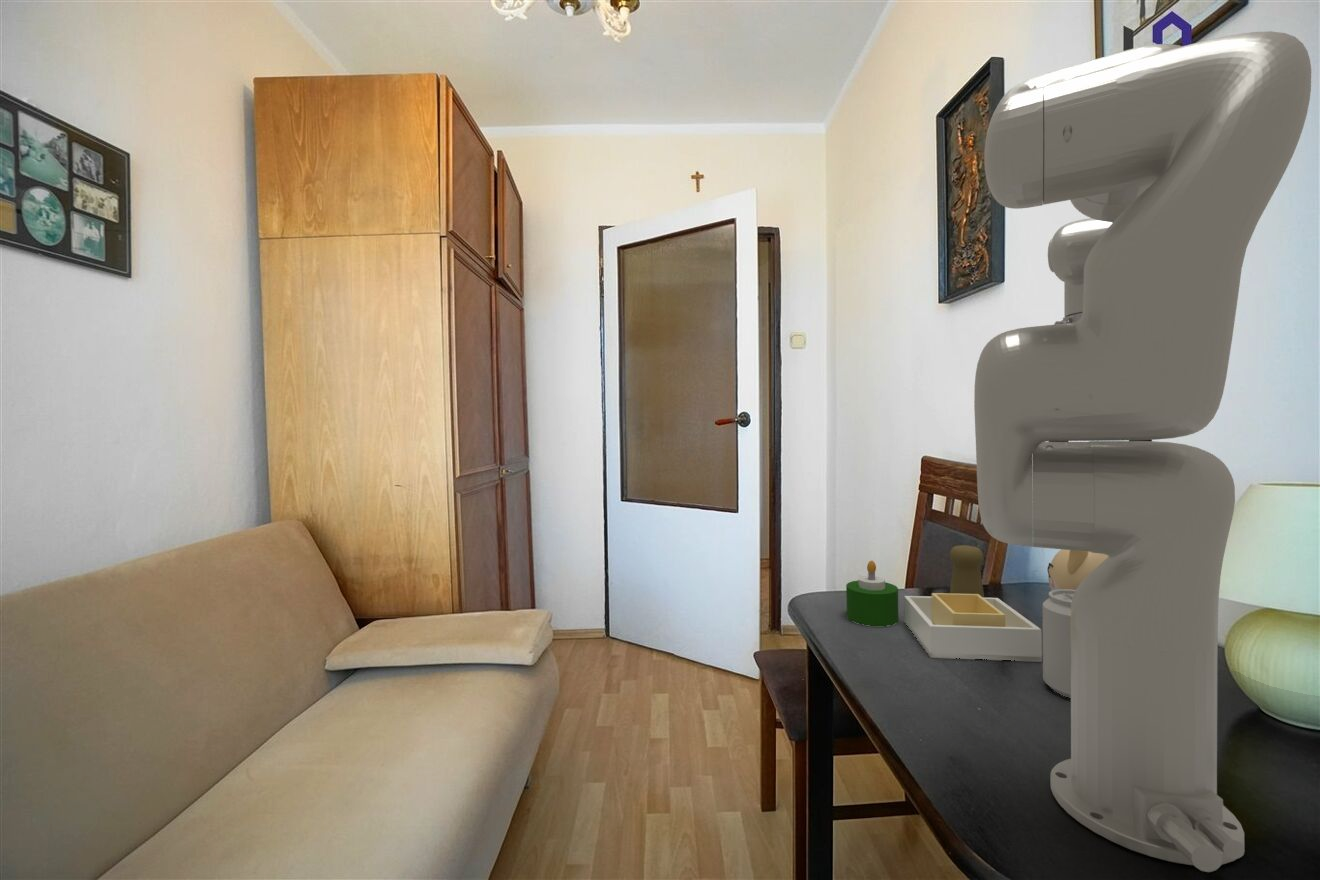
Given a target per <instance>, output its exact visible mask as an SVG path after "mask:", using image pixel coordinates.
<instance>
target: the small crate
mask: <svg viewBox="0 0 1320 880" xmlns="http://www.w3.org/2000/svg"><path fill="white" fill-rule="evenodd" d="M931 596H932V623H933V624H934V625H958V626H992V627H1006V621H1005V614H1004V613H1002V612H1001V611H1000V610H998V609H997V608H996V607H994V606H993V605H992V604H991V603H989V602H988V601H987V600H985V599H984V598H985V597H984V598H983V597H981V596H980V595H979V594H951V593H950V592H949V593H947V592H946V593H944V592H941V593H940V592H938V593H937V592H936V593H935V592H932V593H931Z"/></svg>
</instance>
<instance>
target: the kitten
mask: <svg viewBox="0 0 1320 880" xmlns="http://www.w3.org/2000/svg"><path fill="white" fill-rule="evenodd" d="M1107 557H1108V555H1105V554H1100V553H1092V552H1089V551H1076V550H1064V549H1059V550H1058V552H1056V554H1055V555H1054V556H1053V558H1052V560H1051V561H1050V562H1049V563H1048V566H1047V570H1046V571H1047V575H1048V577H1047V578H1048V585H1049V589H1050V590H1051V591H1053V590H1058V589H1071V590H1076V589H1077V587H1078V586H1079V585H1080V583H1081V582H1082V581H1083V580H1084V579H1085V578H1086V577H1087V576H1088V575H1089V574H1090V573H1091V572H1092V571H1093V570H1094V569H1095V568H1096V567H1098V566H1099V565H1100V564H1101V563H1102V562H1103V561H1104V560H1105V559H1106V558H1107Z"/></svg>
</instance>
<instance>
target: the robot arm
mask: <svg viewBox="0 0 1320 880" xmlns="http://www.w3.org/2000/svg"><path fill="white" fill-rule="evenodd" d="M1311 91H1312V64H1311V59H1310V56H1309V52H1308V50H1307V48H1306V46H1305V45H1304V43H1303V42H1302V41H1301V40H1299V39H1298V38H1297V37H1296V36H1294V35H1292V34H1288V33H1286V32H1279V31H1271V30H1269V31H1268V30H1267V31H1252V32H1246V33H1245V32H1244V33H1238V34H1231V35H1227V36H1221V37H1217V38H1212V39H1207V40H1204V41H1199V42H1194V43H1191V44H1187V45H1186V44H1185V45H1183V46H1182V45H1179V44H1171V43H1160V44H1158V43H1157V44H1149V45H1144V46H1139V47H1134V48H1130V49H1126V50H1123V51H1120V52H1116V53H1112V54H1108V55H1105V56H1103V57H1098V58H1095V59H1093V60H1089V61H1085V62H1082V63H1078V64H1074V65H1072V66H1069V67H1068V66H1067V67H1064V68H1061V69H1057V70H1054V71H1050V72H1047V73H1044V74H1040V75H1037V76H1035V77H1032V78H1029V79H1026V80H1024V81H1022V82H1020V83H1018V84H1016V85H1014V86H1013V87H1012V88H1010V89H1009V90H1008V91H1007V92H1006V93H1004V95H1003V96H1002V98H1001V99H1000V101H999V103H998V104H997V106H996V108H995V110H994V112H993V114H992V116H991V118H990V121H989V124H988V128H987V131H986V136H985V144H984V153H983V154H984V156H983V157H984V160H983V161H984V162H983V163H984V172H985V173H984V174H985V179H986V183H987V186H988V188H989V191H990V193H991V196H992V198H994V200H995V201H996V202H997V203H998V204H999V205H1000V206H1002V207H1005V208H1006V209H1007V208H1009V209H1015V210H1018V209H1029V208H1036V207H1039V206H1044V205H1050V204H1055V203H1061V202H1066V201H1070V202H1071V204H1072V206H1073V207H1074V208H1075V209H1076V210H1077V211H1078V212H1079V213H1081V214H1082V215H1084V216H1086V217H1088V218H1084V219H1079V220H1074V221H1071V222H1068V223H1067V224H1064V225H1062V226H1061V227H1059V228H1058V229H1057V230H1056V231H1055V233H1054V234H1053V236H1052V238H1051V239H1050V241H1049V242H1048V246H1047V261H1048V262H1047V264H1048V267H1049V270H1050V272H1051V273H1054V275H1055V276H1056V277H1057V279H1059V280H1060V281H1062V282H1063V283H1064V285H1063V286H1064V295H1063V297H1064V300H1063V302H1064V308H1063V309H1064V317H1062V320H1060V321H1059V320H1058V321H1057V320H1056V321H1055V322H1054V324H1047V325H1039V326H1038V325H1034V326H1029V327H1027V326H1026V327H1020V328H1015V329H1011V330H1007V331H1004V332H1001V333H999V334H997V335H995V336H994V337H993V338H991V339H990V340H989V341H988V342H987V343H986V344H985V346H984V347H983V349H982V350H981V353H980V354H979V358H978V362H977V365H976V370H975V378H974V401H973V402H974V404H973V405H974V406H973V407H974V409H973V410H974V433H975V453H976V454H975V455H976V456H975V457H976V459H975V460H976V483H977V485H976V486H977V498H978V499H977V501H978V503H977V504H978V509H979V510H978V511H979V516H980V519H981V523H982V525H983V528H984V529H985V531H986V532H987V534H989V536H991V537H992V538H993V539H995V540H997V541H999V542H1001V543H1005V544H1008V545H1014V546H1021V547H1030V548H1038V549H1039V548H1042V549H1052V550H1053V549H1054V550H1061V549H1064V550H1076V551H1089V552H1092V553H1100V554H1105V555H1108V557H1107V558H1106V559H1105V560H1104V561H1103V562H1102V563H1101V564H1100V565H1099V566H1098V567H1096V568H1095V569H1094V570H1093V571H1092V572H1091V573H1090V574H1089V575H1088V576H1087V577H1086V578H1085V579H1084V580H1083V581H1082V582H1081V583H1080V585H1079V586H1078V587H1077V589H1076V591H1075V593H1074V595H1073V598H1072V602H1071V699H1070V758H1067V759H1065V760H1062V761H1060V762H1059V763H1057V764H1055V765H1054V767H1052V768H1051V771H1050V774H1049V775H1050V780H1049V781H1050V790H1051V792H1052V796H1053V797H1054V798H1055V800H1056V801H1057V803H1058V804H1059V805H1060V807H1061V808H1063V810H1064V811H1065V812H1066V813H1067V814H1068V815H1069V816H1071V817H1072V818H1074V819H1075V820H1076V821H1077V822H1079V824H1081V825H1083V826H1084V827H1085V828H1088V829H1089V830H1090V831H1092V832H1093V833H1095V834H1097V835H1099V836H1100V837H1102V838H1105V839H1106V840H1108V841H1110V842H1112V843H1115V844H1117V845H1118V846H1121V847H1123V848H1125V849H1127V850H1130V851H1133V852H1136V853H1139V854H1142V855H1145V856H1148V857H1150V858H1155V859H1159V860H1162V861H1167V862H1170V863H1175V864H1182V865H1188V866H1194V867H1195V868H1196V869H1198V870H1199V871H1201V872H1206V873H1211V872H1214V871H1215V872H1216V871H1217V870H1218V869H1219V868H1220V867H1221V866H1222V865H1225V864H1228V863H1231V862H1234V861H1236V860H1238V859H1240V858H1242V857H1243V856H1244V855H1245V852H1246V850H1245V831H1244V829H1243V826H1242V824H1241V822H1240V821H1239V820H1238V819H1237V817H1236V816H1235V815H1234V813H1232V812H1231V811H1230V810H1229V809H1228V808H1227V807H1226V806H1225V805H1224V799H1223V798H1222V797H1221V796H1219V795H1218V645H1219V643H1218V642H1219V639H1218V637H1219V603H1220V600H1219V598H1220V585H1221V576H1222V575H1221V574H1222V569H1223V562H1224V556H1225V554H1226V553H1225V552H1226V548H1227V543H1228V537H1229V535H1230V530H1231V525H1232V523H1233V522H1232V520H1233V516H1234V512H1235V504H1236V496H1235V495H1236V493H1235V491H1236V488H1235V487H1236V486H1235V482H1234V478H1233V475H1232V473H1231V471H1230V470H1229V468H1228V466H1227V465H1226V464H1225V462H1224V461H1222V460H1221V459H1220V458H1219V457H1217V456H1216V455H1215V454H1213V453H1211V452H1209V451H1206V450H1204V449H1201V448H1199V447H1195V446H1193V445H1188V444H1184V443H1179V442H1178V443H1177V442H1171V441H1169V442H1168V441H1155V440H1167V439H1168V440H1169V439H1174V438H1175V439H1176V438H1181V437H1182V438H1183V437H1186V436H1191V435H1193V434H1195V433H1198V432H1200V431H1201V430H1203V429H1204V428H1206V427H1207V426H1208V425H1209V424H1210V423H1211V422H1212V421H1213V420H1214V419H1215V416H1216V414H1217V412H1218V410H1219V408H1220V404H1221V401H1222V398H1223V395H1224V390H1225V386H1226V380H1227V375H1228V368H1229V363H1230V355H1231V349H1232V344H1233V343H1232V342H1233V336H1234V327H1235V321H1236V314H1237V306H1238V299H1239V291H1240V285H1241V277H1242V276H1241V275H1242V269H1243V266H1244V265H1243V264H1244V261H1245V256H1246V252H1247V248H1248V245H1249V243H1250V241H1251V240H1252V236H1253V234H1254V231H1255V229H1256V227H1257V226H1258V223H1259V221H1260V219H1261V217H1262V215H1263V214H1264V211H1265V210H1266V209H1267V206H1268V204H1269V203H1270V200H1271V199H1272V197H1273V195H1274V193H1275V191H1276V190H1277V188H1278V187H1279V183H1280V182H1281V180H1282V178H1283V176H1284V174H1285V173H1286V171H1287V169H1288V166H1289V164H1290V162H1291V161H1292V158H1293V156H1294V154H1295V151H1296V149H1297V146H1298V143H1299V141H1300V139H1301V135H1302V133H1303V129H1304V127H1305V122H1306V120H1307V116H1308V111H1309V105H1310V100H1311ZM1153 440H1154V441H1153Z"/></svg>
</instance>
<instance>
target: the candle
mask: <svg viewBox="0 0 1320 880" xmlns="http://www.w3.org/2000/svg"><path fill="white" fill-rule="evenodd" d="M866 571H867V572H868V574H867V575H863V576H858V580H852V581H849V582H847V583H846V589H845V592H846V594H845V595H846V618H847V617H848V619H849V620H851V621H854V622H856V623H859V624H864V625H870V626H887V625H893V624H895V623H897V622H898V621H899V588H898V586H896V585H895V584H892V583H889V582H886V579H884V578H883V577H880V576H876V571H877V566H876V563H875V561H873V560H869V561H868V562H867V565H866ZM848 619H847V620H848ZM849 620H848V621H849ZM851 621H850V622H851ZM856 623H855V624H856ZM898 623H899V622H898ZM898 623H897V624H898ZM859 624H858V625H859Z"/></svg>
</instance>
